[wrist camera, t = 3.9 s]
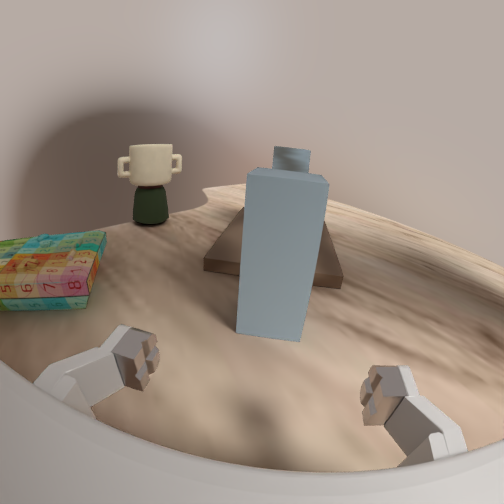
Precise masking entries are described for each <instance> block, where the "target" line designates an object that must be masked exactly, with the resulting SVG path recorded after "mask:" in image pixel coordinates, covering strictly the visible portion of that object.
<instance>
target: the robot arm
mask: <svg viewBox="0 0 504 504" xmlns="http://www.w3.org/2000/svg"><path fill="white" fill-rule="evenodd" d="M156 343H157V338H156V335H155V334H153V333H150V332H146V331H143V330H140V329H136V328H133V327H129V326H126V325H123V324H121V325H119V326H118V327H117V328H116V329H115V330H114V331H113V332H112V334H111V335H110V336H109V337H108V338H107V339H106V341H105V342H104V343H103V344H102V345H101V346H100V348H98V347H95V348H92V349H90V350H87V351H84V352H82V353H79V354H76V355H74V356H71V357H68V358H66V359H63V360H60V361H57V362H55V363H52V364H49V366H48V367H47V368H46V369H45V370H44V371H43V372H42V373H41V374H40V376H39V377H38V378H37V379H36V380H35V381H34V383H31V382H30V381H28V380H27V379H25V378H24V377H23V376H21V375H20V374H18V373H17V372H16V371H14V370H13V369H12V368H10V367H9V366H8V365H6V364H5V363H4V362H3V361H1V360H0V504H504V439H502V440H499V441H497V442H494V443H491V444H489V445H486V446H483V447H480V448H477V449H474V450H471V451H468V449H467V446H466V443H465V440H464V437H463V434H462V431H461V428H460V427H459V426H458V425H457V424H456V423H455V422H453V421H452V420H451V419H450V418H449V417H448V416H446V415H445V414H444V413H443V412H442V411H441V410H439V409H438V408H437V407H436V406H435V405H434V404H432V403H431V402H430V401H429V400H428V399H427V398H425V397H424V396H420V394H419V391H418V389H417V386H416V383H415V380H414V378H413V375H412V372H411V370H410V367H409V366H408V365H404V366H380V365H373V366H372V367H371V368H370V370H369V372H368V374H369V377H368V378H367V379H365V380H364V382H363V384H362V386H361V391H360V402H361V404H362V405H363V406H364V407H365V408H364V410H363V411H362V415H363V422H364V426H375V425H384V427H385V429H386V430H387V431H388V433H389V434H390V435H391V436H392V438H393V439H394V440H395V442H396V443H397V444H398V445H399V447H400V448H401V449H402V451H403V452H404V453H405V454H406V456H407V458H406V459H404V460H403V461H402V462H401V463H400V464H399V465H398V466H397V467H396V468H389V469H380V470H369V471H354V472H301V471H286V470H275V469H266V468H258V467H251V466H244V465H238V464H232V463H227V462H222V461H217V460H213V459H208V458H204V457H200V456H196V455H192V454H188V453H184V452H181V451H177V450H174V449H171V448H167V447H164V446H161V445H158V444H155V443H152V442H149V441H146V440H144V439H141V438H138V437H136V436H133V435H130V434H128V433H125V432H123V431H121V430H118V429H116V428H113V427H111V426H109V425H107V424H104V423H102V422H100V421H98V420H96V417H95V415H94V413H93V411H92V409H91V408H90V407H91V406H93V405H95V404H96V403H98V402H100V401H102V400H103V399H105V398H107V397H108V396H110V395H112V394H113V393H115V392H117V391H118V390H120V389H122V388H123V387H124V386H127V387H130V388H133V389H136V390H139V391H144V390H145V388H146V386H147V384H148V383H149V381H150V378H149V375H150V374H152V373H154V372H155V370H156V369H157V367H158V363H159V350H158V349H157V347H156V346H155V345H156Z"/></svg>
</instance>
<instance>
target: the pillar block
mask: <svg viewBox="0 0 504 504" xmlns="http://www.w3.org/2000/svg"><path fill="white" fill-rule="evenodd" d="M328 191H329V183H328V182H327V181H326V180H325V179H324V178H323V176H322V175H317V174H309V173H303V172H295V171H287V170H278V169H268V168H259V167H257V168H256V169H254V170H253V171H251V172H250V173H248V174H247V182H246V195H245V208H244V222H243V235H242V249H241V264H240V278H239V293H238V309H237V324H236V333H239V334H245V335H252V336H258V337H265V338H272V339H280V340H288V341H296V342H300V338H301V334H302V330H303V325H304V321H305V317H306V312H307V308H308V303H309V298H310V294H311V289H312V284H313V279H314V274H315V269H316V263H317V258H318V253H319V247H320V241H321V236H322V230H323V224H324V217H325V211H326V204H327V198H328Z"/></svg>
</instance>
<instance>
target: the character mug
mask: <svg viewBox="0 0 504 504" xmlns="http://www.w3.org/2000/svg"><path fill="white" fill-rule="evenodd" d="M172 160H176V168H172ZM124 163H129V171H126V172H124ZM181 167H182V156H181V155H179V154H178V155H177V154H176V155H175V154H172V145H171V144H146V145H134V146H130V149H129V157H121V158H119V159H118V176H119V177H120V178H126V177H129V180H130V182H131V184H133V185H136V186H138V188H137V189H136V191H135V198H134V208H133V220H135V221H137V222H140V223H145V224H155V223H160V222H163V221H165V220H166V219H168V218H169V215H168V206H167V199H166V191H165V189H164V187H163V184H167V183H169V182H170V180H171V176H172V174H178V173H181V169H182V168H181Z"/></svg>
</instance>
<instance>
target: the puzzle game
mask: <svg viewBox="0 0 504 504" xmlns="http://www.w3.org/2000/svg"><path fill="white" fill-rule="evenodd" d="M106 243H107V240H106V232H102V231H99V230H98V231H87V232H77V233H67V234H57V235H48V234H42V235H40V236H38V237H30V238H21V239H13V240H5V241H0V311H22V310H64V309H86V305H87V302H88V298H89V295H90V292H91V288H92V285H93V282H94V278H95V275H96V272H97V269H98V266H99V263H100V260H101V257H102V254H103V251H104V248H105V246H106Z"/></svg>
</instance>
